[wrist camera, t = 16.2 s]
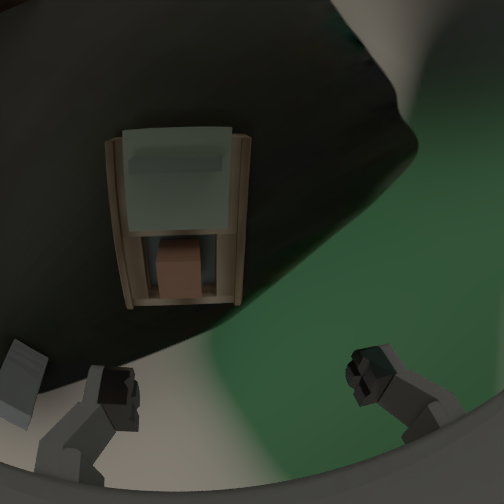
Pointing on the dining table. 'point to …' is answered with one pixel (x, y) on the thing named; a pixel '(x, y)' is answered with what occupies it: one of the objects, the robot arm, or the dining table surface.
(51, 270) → the dining table surface
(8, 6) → the lion stand
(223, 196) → the cover
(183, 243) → the cube
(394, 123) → the dining table surface
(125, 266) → the wooden box
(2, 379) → the supplement box
